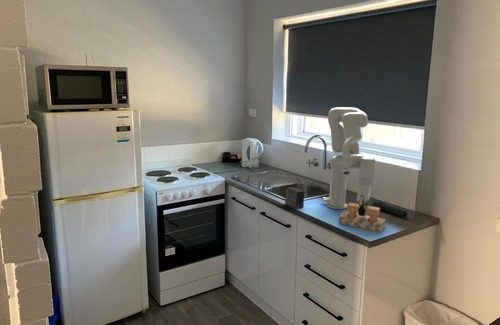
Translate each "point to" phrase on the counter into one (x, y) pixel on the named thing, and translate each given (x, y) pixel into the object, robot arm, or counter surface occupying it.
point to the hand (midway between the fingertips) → (362, 213)
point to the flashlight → (390, 209)
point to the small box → (294, 197)
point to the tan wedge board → (368, 210)
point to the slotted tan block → (362, 222)
